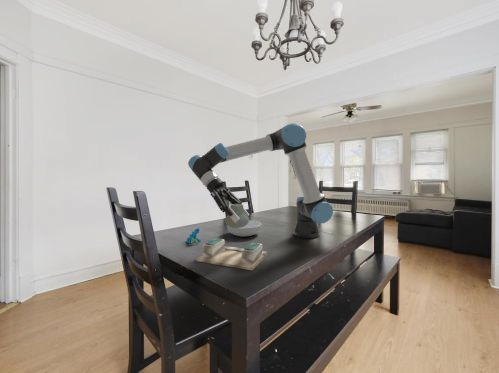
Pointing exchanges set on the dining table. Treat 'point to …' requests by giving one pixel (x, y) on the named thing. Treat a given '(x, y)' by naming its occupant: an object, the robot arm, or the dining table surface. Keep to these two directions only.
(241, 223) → the air freshener
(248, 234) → the serving bowl
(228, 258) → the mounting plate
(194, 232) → the gear
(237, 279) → the dining table surface
